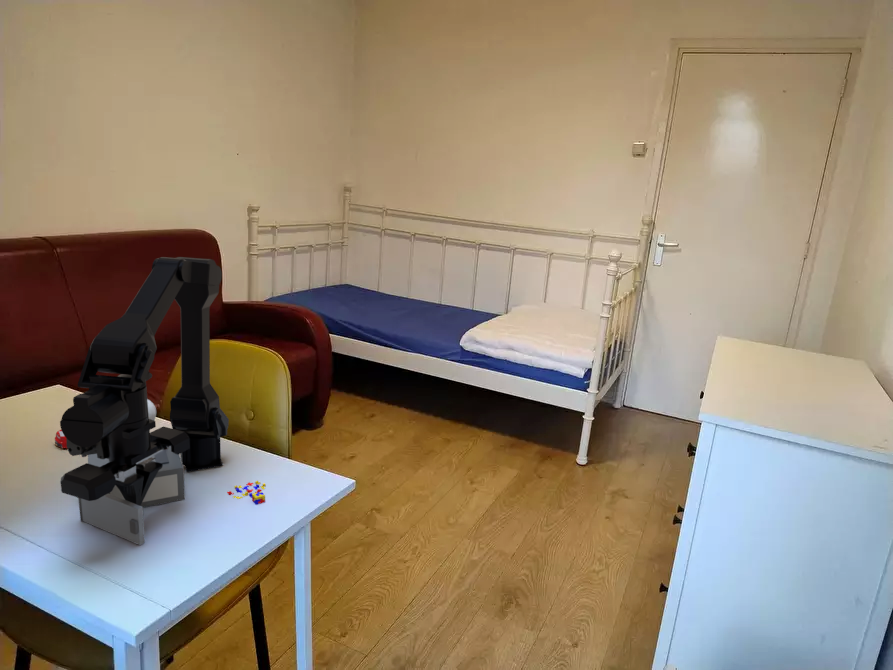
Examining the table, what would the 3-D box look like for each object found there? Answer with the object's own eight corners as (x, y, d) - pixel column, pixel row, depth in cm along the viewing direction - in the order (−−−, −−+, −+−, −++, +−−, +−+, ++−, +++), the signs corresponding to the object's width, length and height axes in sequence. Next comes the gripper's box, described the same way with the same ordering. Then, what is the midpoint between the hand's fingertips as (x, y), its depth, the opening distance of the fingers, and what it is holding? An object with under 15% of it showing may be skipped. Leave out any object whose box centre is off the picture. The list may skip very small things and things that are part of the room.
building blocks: (259, 481, 112) (259, 473, 112) (277, 500, 106) (277, 492, 106) (224, 490, 108) (224, 482, 108) (240, 510, 102) (240, 502, 102)
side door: (145, 542, 91) (143, 506, 90) (137, 546, 90) (134, 510, 88) (84, 517, 96) (81, 482, 95) (76, 521, 95) (73, 486, 94)
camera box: (175, 469, 114) (173, 436, 112) (184, 499, 104) (183, 463, 102) (83, 484, 106) (80, 449, 105) (84, 518, 96) (80, 479, 95)
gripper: (135, 387, 100) (142, 472, 104) (25, 429, 83) (38, 529, 87) (189, 399, 96) (194, 487, 100) (86, 446, 79) (97, 549, 83)
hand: (134, 510), depth 93 cm, fingers closed
